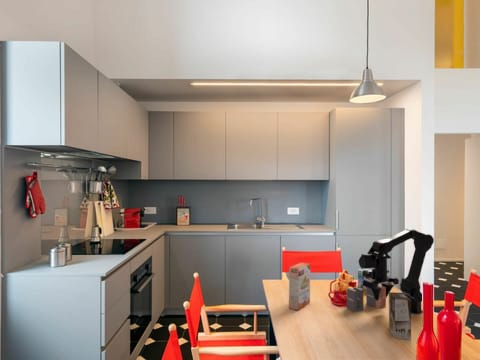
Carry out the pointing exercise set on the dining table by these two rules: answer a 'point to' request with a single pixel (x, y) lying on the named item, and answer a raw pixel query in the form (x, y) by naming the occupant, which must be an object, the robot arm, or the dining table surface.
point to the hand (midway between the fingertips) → (380, 299)
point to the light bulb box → (362, 278)
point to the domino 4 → (381, 299)
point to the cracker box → (299, 286)
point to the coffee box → (400, 315)
